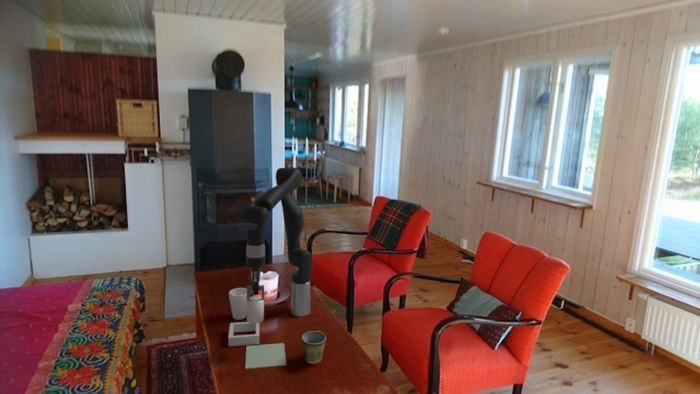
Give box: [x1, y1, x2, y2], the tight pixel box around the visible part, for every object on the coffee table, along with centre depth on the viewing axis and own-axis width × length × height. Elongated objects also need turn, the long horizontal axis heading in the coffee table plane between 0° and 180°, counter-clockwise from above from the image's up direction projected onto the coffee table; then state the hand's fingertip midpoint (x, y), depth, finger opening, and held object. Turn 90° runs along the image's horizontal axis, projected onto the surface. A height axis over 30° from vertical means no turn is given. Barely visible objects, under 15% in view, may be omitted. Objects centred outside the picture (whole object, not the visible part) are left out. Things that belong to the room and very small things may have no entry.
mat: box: [244, 342, 287, 370], centre depth 174 cm, size 16×16×1 cm
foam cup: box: [228, 287, 247, 321], centre depth 205 cm, size 10×9×13 cm
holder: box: [227, 321, 260, 347], centre depth 187 cm, size 13×13×4 cm
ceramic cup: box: [301, 329, 327, 365], centre depth 174 cm, size 13×10×10 cm
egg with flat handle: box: [246, 284, 265, 324], centre depth 175 cm, size 7×7×15 cm
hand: (255, 293), depth 174 cm, fingers closed on egg with flat handle, 1 cm apart
